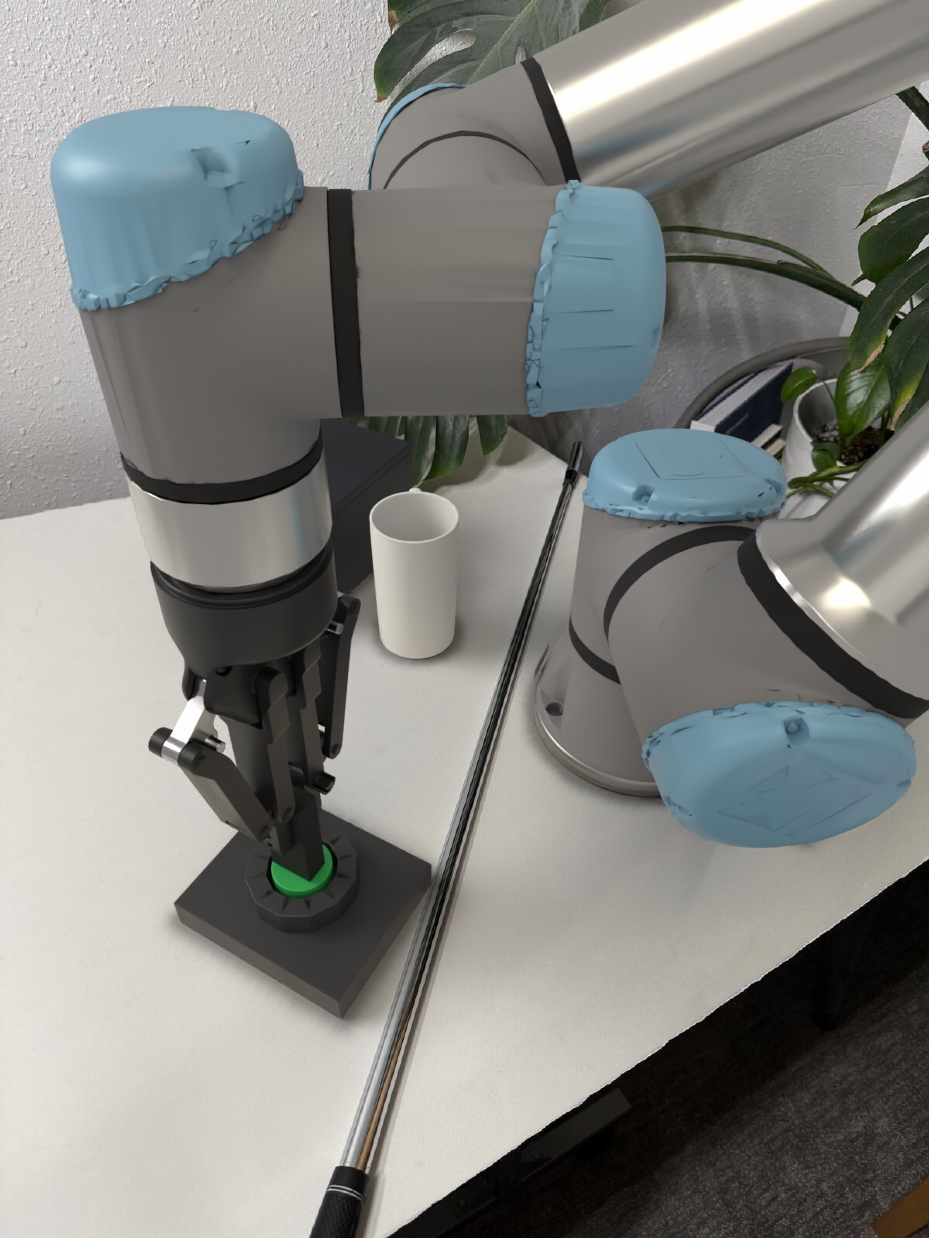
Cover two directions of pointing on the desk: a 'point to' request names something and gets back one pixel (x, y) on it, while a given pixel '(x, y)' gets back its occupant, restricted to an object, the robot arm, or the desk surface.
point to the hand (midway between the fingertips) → (299, 861)
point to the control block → (309, 911)
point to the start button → (302, 879)
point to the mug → (415, 571)
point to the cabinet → (360, 491)
